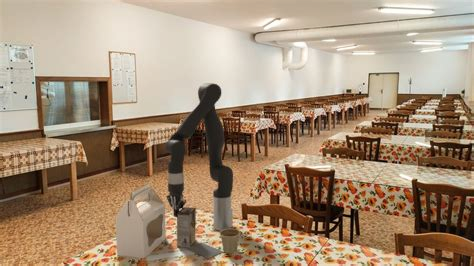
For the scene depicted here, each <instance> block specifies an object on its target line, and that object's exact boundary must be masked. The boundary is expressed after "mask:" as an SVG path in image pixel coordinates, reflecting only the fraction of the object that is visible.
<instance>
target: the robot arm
mask: <svg viewBox="0 0 474 266" xmlns="http://www.w3.org/2000/svg"><path fill="white" fill-rule="evenodd" d="M197 95H198V100H199V103H198V105H196V107H195V108H194V109H193V110H192V111H191V112H189V113H188V115H187V116H186V117H185V118H184V119H183V121H182V122H181V124H180V125H179V127H178V129H177V130H176V131H175V132H174V133H173V134H172V135H171V136H170V138H168V140H167V142H166V144H165V150H166V152H167V153H168V154H170V155H171V156H170V160H169V161H168V163H167V172H168V173H167V191H168V192H169V194H168V195H166V199H167V202H168V204H169V207H170V208H172V209H173V217H174V218H177V213H178V212H179V211H180V210H181V209H182V208H183V207H185V204H186V203H187V199H184V195H183V192H184V191H185V179H184V178H185V175H184V160H185V155H186V146H185V144H184V143H185V141H186V140H189V139H191V137H192V136H193V134H194V132H195V131H196V129H197V128H198V126H199V125H200V123H202V122H201V121H202V120H203V125H204V133H205V139H206V145H207V151H208V161H209V162H208V163H209V175H210V178H211V180H212V181H214V182H216V183H217V188H215V189H214V190H213V195H212V198H213V199H212V202H213V205H212V206H213V207H212V209H213V229H214V230H216V231H218V232H220V231H221V230H224V229H232V228H233V227H234V226H233V215H234V214H233V211H234V210H233V208H232V192H233V188H234V172H233V170H232V169H233V168H231V167H230V166H228V165H225V164H224V163H223V158H222V152H223V151H222V150H223V149H224V148H223V147H224V145H225V140H226V139H225V131H224V125H223V123H222V121H221V119H220V118H219V115H218V112H217V110H216V104H217V102H218V101H219V100H220V98H221V96H222V88H221V87H220V85H218V84H217V83H213V82H212V83H209V82H208V83H202V84H201V85H200V86H199V87H198V90H197Z"/></svg>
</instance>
